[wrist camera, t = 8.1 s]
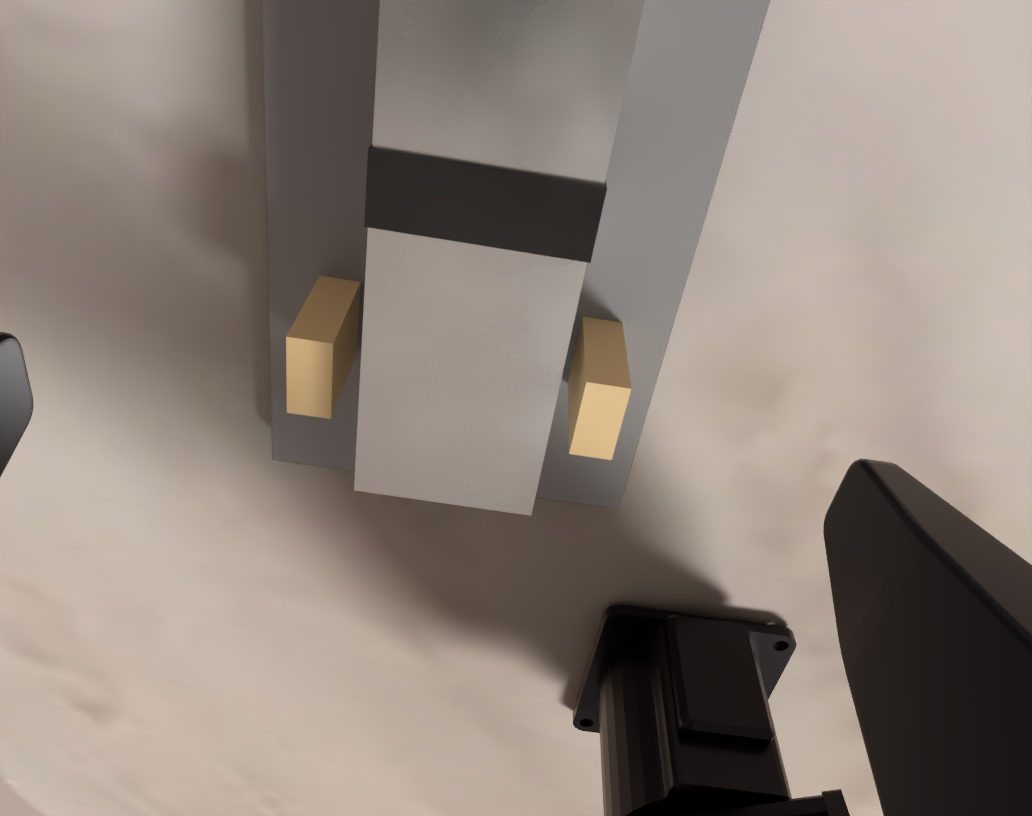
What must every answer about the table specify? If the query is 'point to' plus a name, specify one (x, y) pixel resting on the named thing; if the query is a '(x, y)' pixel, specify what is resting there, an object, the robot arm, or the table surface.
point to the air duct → (480, 235)
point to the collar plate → (608, 278)
